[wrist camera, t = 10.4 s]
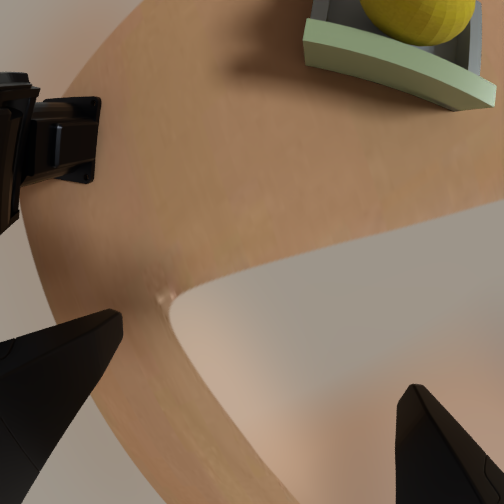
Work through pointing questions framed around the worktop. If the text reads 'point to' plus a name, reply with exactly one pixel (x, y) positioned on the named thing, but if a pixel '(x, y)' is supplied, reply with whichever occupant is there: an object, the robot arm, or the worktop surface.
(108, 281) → the worktop surface
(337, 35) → the miniature couch
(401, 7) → the lemon
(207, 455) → the worktop surface
